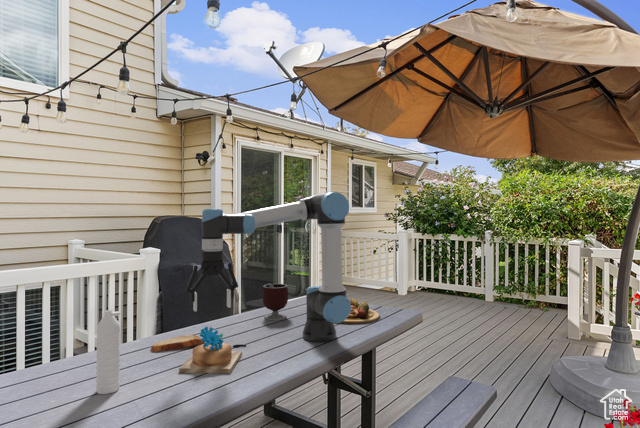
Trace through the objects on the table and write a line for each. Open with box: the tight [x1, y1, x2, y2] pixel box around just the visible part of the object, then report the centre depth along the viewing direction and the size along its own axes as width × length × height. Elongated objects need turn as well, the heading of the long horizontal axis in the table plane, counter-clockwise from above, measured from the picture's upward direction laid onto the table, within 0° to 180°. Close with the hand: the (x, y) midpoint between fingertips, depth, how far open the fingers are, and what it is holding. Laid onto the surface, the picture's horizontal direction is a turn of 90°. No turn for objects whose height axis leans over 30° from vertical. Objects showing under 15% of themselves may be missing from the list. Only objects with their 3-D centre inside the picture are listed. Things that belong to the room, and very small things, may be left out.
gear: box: [199, 326, 225, 350], centre depth 148 cm, size 11×6×10 cm
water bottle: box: [95, 309, 121, 395], centre depth 124 cm, size 9×6×25 cm
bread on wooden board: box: [178, 342, 243, 374], centre depth 147 cm, size 18×18×6 cm
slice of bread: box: [150, 334, 206, 353], centre depth 167 cm, size 18×18×4 cm
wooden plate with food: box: [338, 298, 381, 325], centre depth 217 cm, size 32×32×8 cm
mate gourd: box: [261, 282, 289, 321], centre depth 214 cm, size 16×14×20 cm
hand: (212, 308), depth 147 cm, fingers open, 12 cm apart
